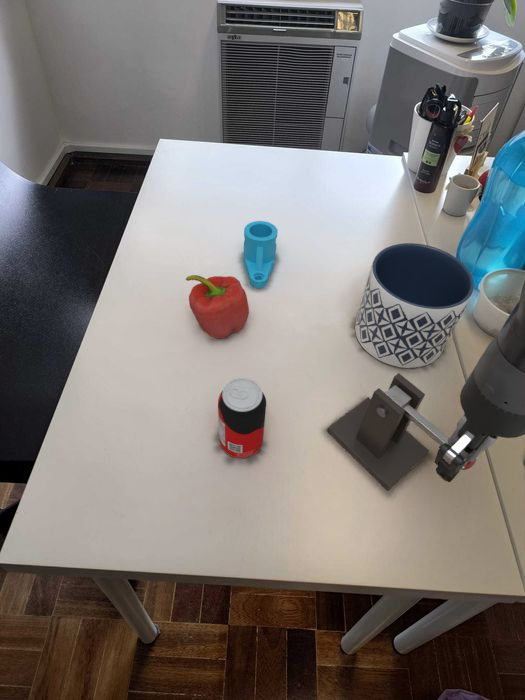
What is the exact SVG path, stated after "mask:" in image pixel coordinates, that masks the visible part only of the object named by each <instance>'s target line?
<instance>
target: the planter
mask: <svg viewBox="0 0 525 700" xmlns="http://www.w3.org/2000/svg"><path fill="white" fill-rule="evenodd" d="M474 289H475V281H474V277H473V275H472V273H471V271H470V270H469V268H468V267H467V266H466V265H465V264H464V263H463V261H461V260H460V259H459V258H457V257H456V256H454V255H453V254H451V253H450V252H447V251H446V250H444V249H440V248H438V247H435V246H432V245H429V244H424V243H423V244H422V243H413V242H407V243H406V242H405V243H397V244H393V245H390V246H388V247H385V248H383V249H381V250H380V251H379V252H378V253H377V254H376V255H375V257H374V259H373V261H372V264H371V267H370V270H369V274H368V277H367V280H366V284H365V286H364V291H363V294H362V297H361V302H360V304H359V308H358V311H357V315H356V319H355V324H354V332H355V336H356V338H357V340H358V343H359V344H360V345H361V346H362V348H363V349H364V350H365V351H366V352H367V353H368V354H370V356H372V357H373V358H374V359H376V360H378V361H379V362H382V363H385V364H387V365H390V366H393V367H398V368H405V369H415V368H421V367H425V366H428V365H430V364H432V363H433V362H435V361H437V360H438V359H439V357H440V356H441V355H442V354H443V351H444V349H445V348H446V346H447V344H448V342H449V340H450V338H451V336H452V334H453V333H454V330H455V328H456V327H457V325H458V322H459V321H460V319H461V317H462V315H463V313H464V311H465V309H466V307H467V305H468V303H469V301H470V299H471V298H472V295H473V293H474Z"/></svg>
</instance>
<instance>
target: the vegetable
mask: <svg viewBox="0 0 525 700" xmlns="http://www.w3.org/2000/svg"><path fill="white" fill-rule="evenodd" d="M185 280H186V281H188V282H189V281H197V282H200V283H197V284H195V285H194V286H193V287H192V288H191V290H190V293H189V294H188V304H189V308H190V309H191V312H192V314H193V315H194V317H195V320H196V322H197V324H198V325H199V327H200V329H201V330H202V331H203V332H205V334H207V335H208V336H210V337H212V338H217V339H224V338H227V337H228V336H229V335H230V334H231V333H234V332H239V331H240V330H242V329H243V328H244V327H245V325H247V321H248V318H249V315H250V307H249V301H248V297H247V293H246V290H245V289H244V288H243V286H242V284H241V281H240V280H239V279H238V278H236V276H231V275H229V276H223V275H217V276H216V275H214V276H210V277H208V278H205V277H204V276H201V275H196V274H192V275H191V274H190V275H189V276H187V277H185Z"/></svg>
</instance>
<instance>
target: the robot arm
mask: <svg viewBox="0 0 525 700" xmlns="http://www.w3.org/2000/svg"><path fill="white" fill-rule="evenodd" d="M520 292H521V293H520V297H519V300H518V302H517V303H516V305H515V306H514V308H513V309H512V311H511V312H510V314H509V315H508V317H507V319H506V321H505V322H504V324H503V325H502V327H501V329H500V330H499V332H498V334H497V335H496V336H495V337H494V338H493V339H492V340H491V342H490V343H489V344H488V345H487V347H486V348H485V350H484V351H483V352H482V354H481V356H480V358H479V359H478V361H477V363H476V364H475V366H474V368H473V370H472V371H471V373H470V374H469V376H468V378H467V379H466V381H465V383H464V385H463V386H462V388H461V390H460V394H459V401H460V406H461V409H462V411H463V413H464V414H463V415H461V417H460V418H459V420H458V421H457V424H456V425H457V427H455V429H454V431H453V432H452V434H451V435H450V436H449V439H448V441H447V442H448V443H444V444H443V445H441V446H440V445H439V447H438V450H437V452H436V455H435V457H434V461H433V463H434V464H435V465H436V467H435V474H437V475H438V476H439V477H440V478H441V479H442V480H443V481H444V482H447V483H452V481H453V480H454V479H455V478H456V477H457V475H458V474H459V473H460V472H461V471H464V470H463V469H464V468H465V465H466V464H467V462H473V461H475V460H476V461H477V459H479V457H480V456H481V455H482V454H483V452H484V451H485V450H486V449H488V448H490V447H492V445H493V444H494V443H495V442H496V441H497V440H498V439H499V438H504V439H505V438H506V439H513V438H519V437H523V436H524V435H525V280H524V281H523V284H522V287H521V291H520ZM474 449H475V450H474ZM461 469H462V470H461Z"/></svg>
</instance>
